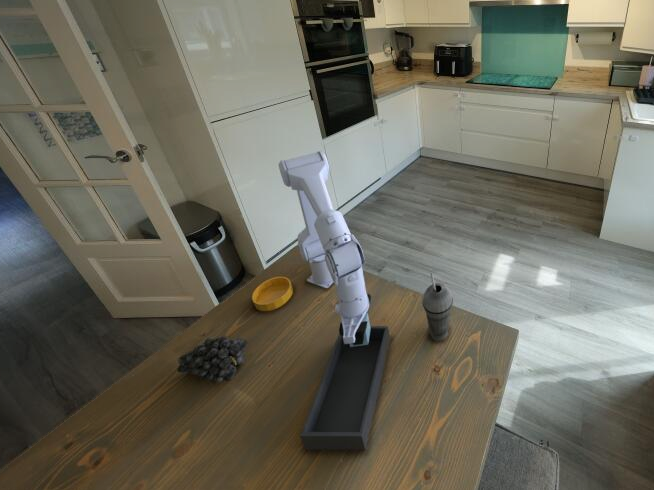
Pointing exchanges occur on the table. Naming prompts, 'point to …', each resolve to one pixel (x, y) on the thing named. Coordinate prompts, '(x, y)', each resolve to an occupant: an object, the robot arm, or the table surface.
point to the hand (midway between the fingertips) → (360, 333)
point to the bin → (347, 395)
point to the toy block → (367, 332)
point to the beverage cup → (437, 309)
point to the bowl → (272, 293)
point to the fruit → (214, 359)
